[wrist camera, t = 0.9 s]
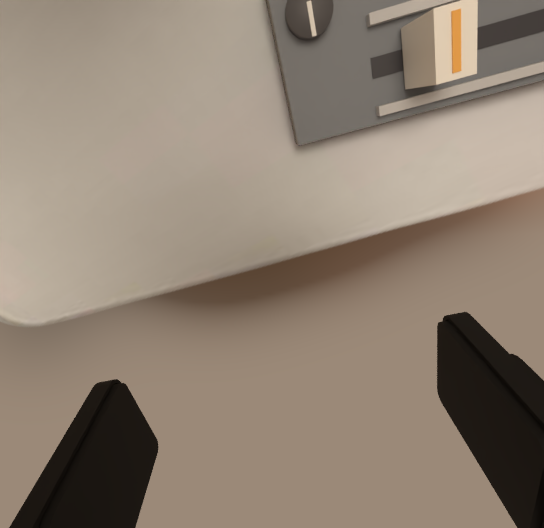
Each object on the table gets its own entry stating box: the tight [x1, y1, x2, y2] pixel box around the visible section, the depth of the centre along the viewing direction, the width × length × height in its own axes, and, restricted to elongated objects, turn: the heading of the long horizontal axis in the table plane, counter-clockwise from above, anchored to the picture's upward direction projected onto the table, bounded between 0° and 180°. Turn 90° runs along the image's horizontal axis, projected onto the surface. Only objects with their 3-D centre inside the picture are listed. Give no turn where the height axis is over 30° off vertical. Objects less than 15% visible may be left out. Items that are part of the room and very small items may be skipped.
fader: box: [401, 0, 478, 89], centre depth 22 cm, size 4×2×5 cm, turn 14°
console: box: [266, 0, 544, 146], centre depth 24 cm, size 11×32×4 cm, turn 104°
